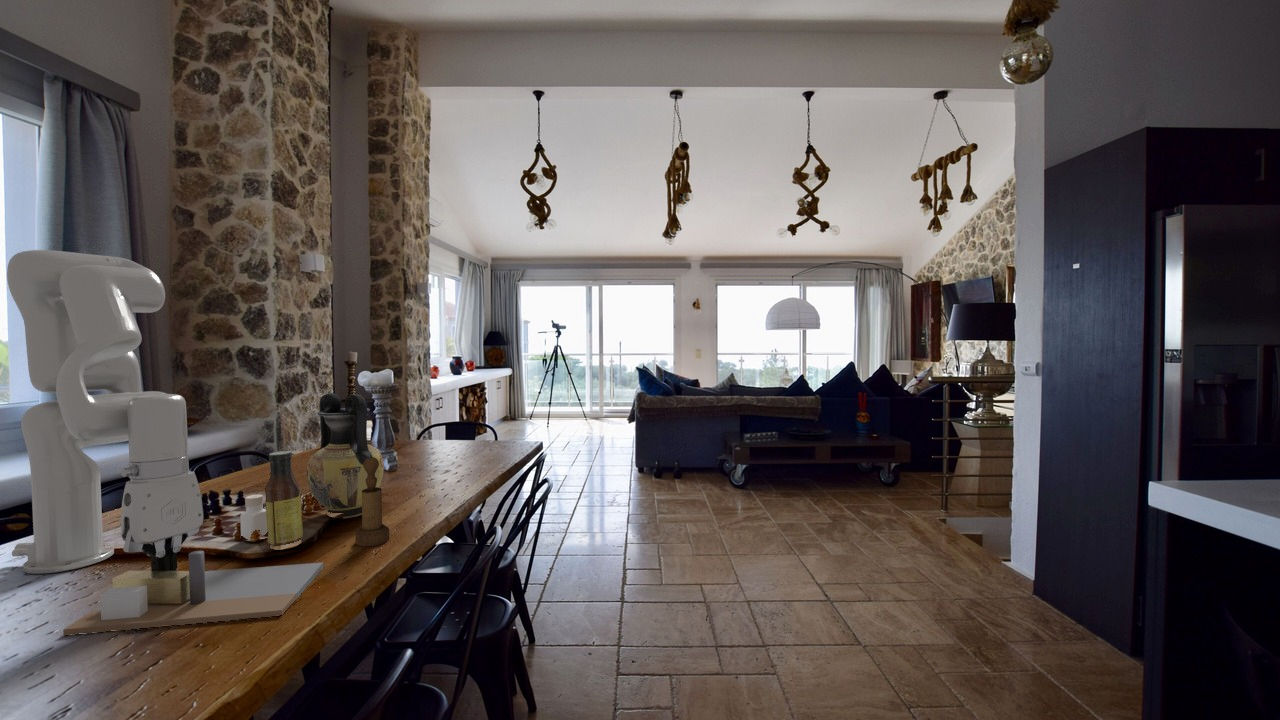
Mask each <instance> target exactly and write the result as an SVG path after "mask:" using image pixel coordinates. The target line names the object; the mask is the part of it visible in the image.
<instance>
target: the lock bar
mask: <svg viewBox="0 0 1280 720" xmlns="http://www.w3.org/2000/svg"><path fill="white" fill-rule="evenodd" d="M136 586H147V603H183V602H185V601H186V600H188V599H190V586H189V570H176V571H151V570H128V571H126V572H123V573H121V574H119V575H116V576H114V577H112V588H123V587H136Z"/></svg>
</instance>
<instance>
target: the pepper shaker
mask: <svg viewBox="0 0 1280 720" xmlns="http://www.w3.org/2000/svg"><path fill="white" fill-rule="evenodd" d="M244 500H245V501H244V502H245V504H244V505H245V511H243V512H242V513H240V517H239V518H240V537H241V536H243V537H245V538H246V539H250V537H251V534H252V532H253V531H255V530H260V532H261V534H262V535H265V534H266V533H267V518H266V508H264V495H263V494H251V495H248V496H247V495H246V497H245V498H244Z"/></svg>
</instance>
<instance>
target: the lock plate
mask: <svg viewBox="0 0 1280 720" xmlns="http://www.w3.org/2000/svg"><path fill="white" fill-rule="evenodd" d="M187 556H188V571H189V586H190V599H188V600H186V601H185V602H183V603H147V586H136V587H123V588H113V587H112V588H108V589H106V590H105V591H103V592H101V593H100V597H99V598H100V605H99V606H98V607H96V608H95V609H93V610H91V611H90V612H88V613H87V614H85V615H84V616H82V617H81V618H79V619H77V620H76V621H74V622H73V623H70V625H68V626H67V627H65V628H63V629H62V632H63V634H62V635H70V634H79V633H92V632H104V633H106V632H105V631H111V630H126V631H132V630H131V629H137V630H140V629H139V628H147V627H148V629H150V628H149V627H155V626H162V625H178V624H179V625H180V624H192V625H197V624H196V623H203V624H208V623H207V622H214V623H219V622H218V621H225V622H231V621H230V620H236V621H240V620H239V619H246V618H257V617H269V616H274V615H282V614H283V613H284V612H285V610H286V609H287V608H288V607H289V606H290V605H291V604H292V603H293V602H294V601H295V600H296V601H297V600H298V598H299V597H300V596H301V595H302V594H303V592H305V590H306V589H307V588H308V587H309V585H310V584H311V583H312V582H313V581H314V579H316V577H317V576H318V575H319V574H320V573H321V571H322V570H323V569H324V566H325V565H324V562H312V563H311V562H310V563H296V564H285V565H273V566H272V565H271V566H261V567H243V568H233V569H232V568H231V569H219V570H207V571H206V569H205V551H204V550H195V551H191V552H189V553H188V555H187ZM307 586H308V587H307ZM306 587H307V588H306ZM301 593H302V594H301ZM296 601H295V602H296ZM295 602H294V603H295ZM294 603H293V604H294ZM293 604H292V605H293ZM292 605H291V606H292ZM285 613H286V612H285ZM269 618H270V617H269Z"/></svg>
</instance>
